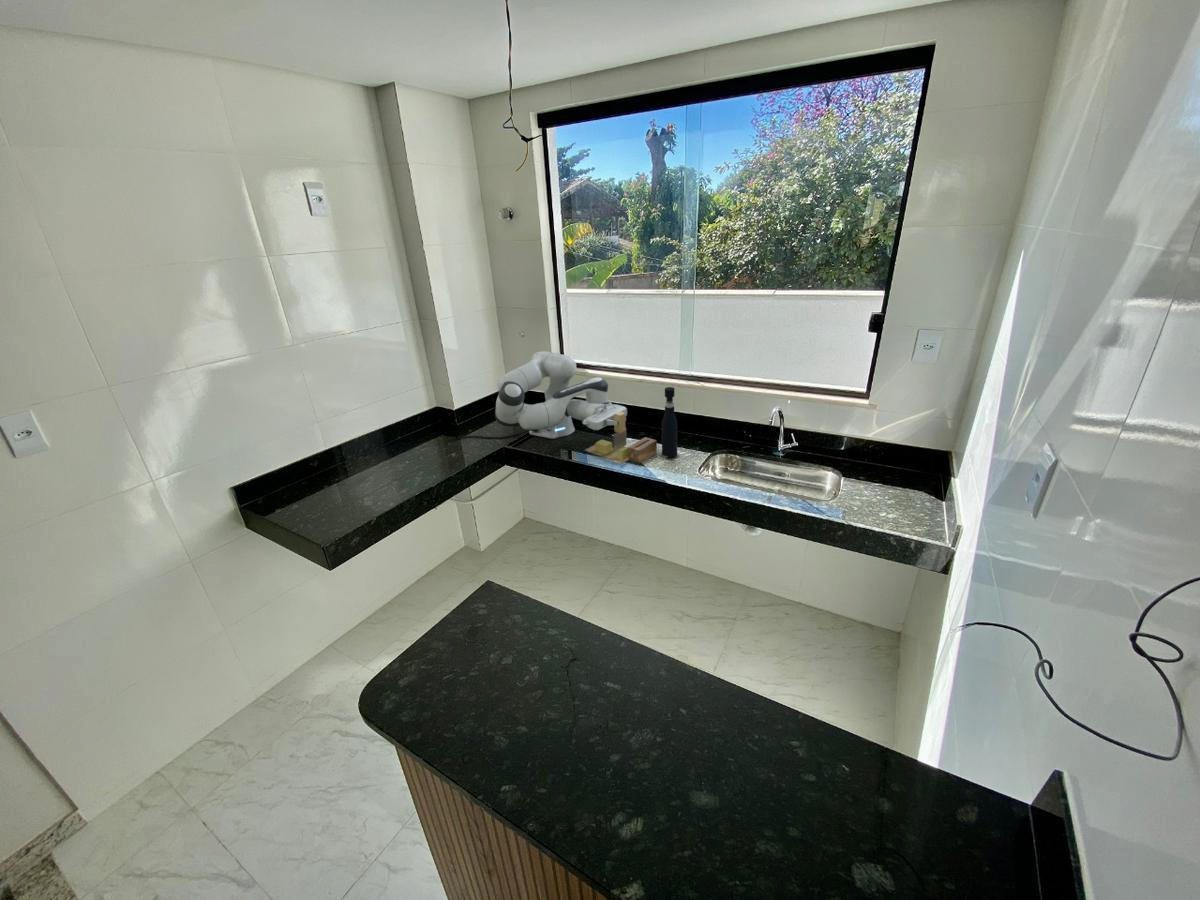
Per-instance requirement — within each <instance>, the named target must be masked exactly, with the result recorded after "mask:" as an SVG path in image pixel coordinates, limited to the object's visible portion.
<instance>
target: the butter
mask: <svg viewBox="0 0 1200 900" xmlns="http://www.w3.org/2000/svg"><path fill="white" fill-rule="evenodd" d="M594 445H595V447H596V451H597V452H600V453H603V454H608V453H610V452H611V451H613V448H614V447H613V442H611V441H608V440H605V439H600V440H598V441H596V442H595V443H594Z"/></svg>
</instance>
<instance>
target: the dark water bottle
mask: <svg viewBox="0 0 1200 900" xmlns="http://www.w3.org/2000/svg"><path fill="white" fill-rule="evenodd" d="M664 397H665V398H666V399H665V404H664V405H665V406H664V414H663V417H662V421H661V455H662V456H664V457H665V458H666V459H667V460H671V459H675V458H677V457H678V421H677V417H676V414H675V405H674V403H675V402H674V399H673V398H674V397H675V387H671V386H667V387H665V388H664Z"/></svg>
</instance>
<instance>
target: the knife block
mask: <svg viewBox="0 0 1200 900" xmlns="http://www.w3.org/2000/svg"><path fill="white" fill-rule="evenodd" d="M657 442H658V441H657V440H656V439H653V438H650V437H646V436H645V437H643V438H641V439H639V440H638V441H636V442H634V443H632V444H631V445H629V446H628V459H629V460H628V461H632V462H634V463H637V464H641V463H643V462H645V461H646V460H648V459H649V458H651V457H653V456H654V455H656V454H657V452H658V443H657Z"/></svg>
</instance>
